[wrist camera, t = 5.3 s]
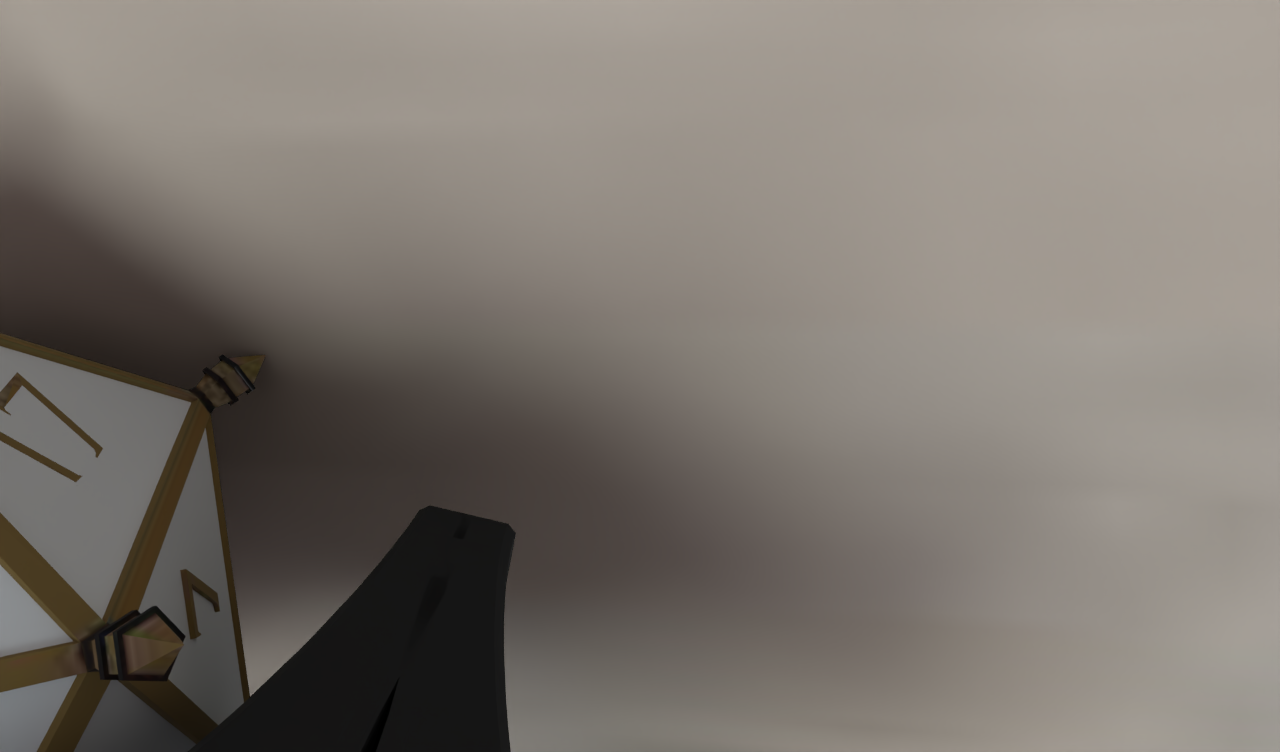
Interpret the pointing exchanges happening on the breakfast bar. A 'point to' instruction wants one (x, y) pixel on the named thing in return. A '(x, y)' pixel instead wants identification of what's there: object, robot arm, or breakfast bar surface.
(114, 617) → the game die
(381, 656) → the robot arm
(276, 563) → the breakfast bar surface
